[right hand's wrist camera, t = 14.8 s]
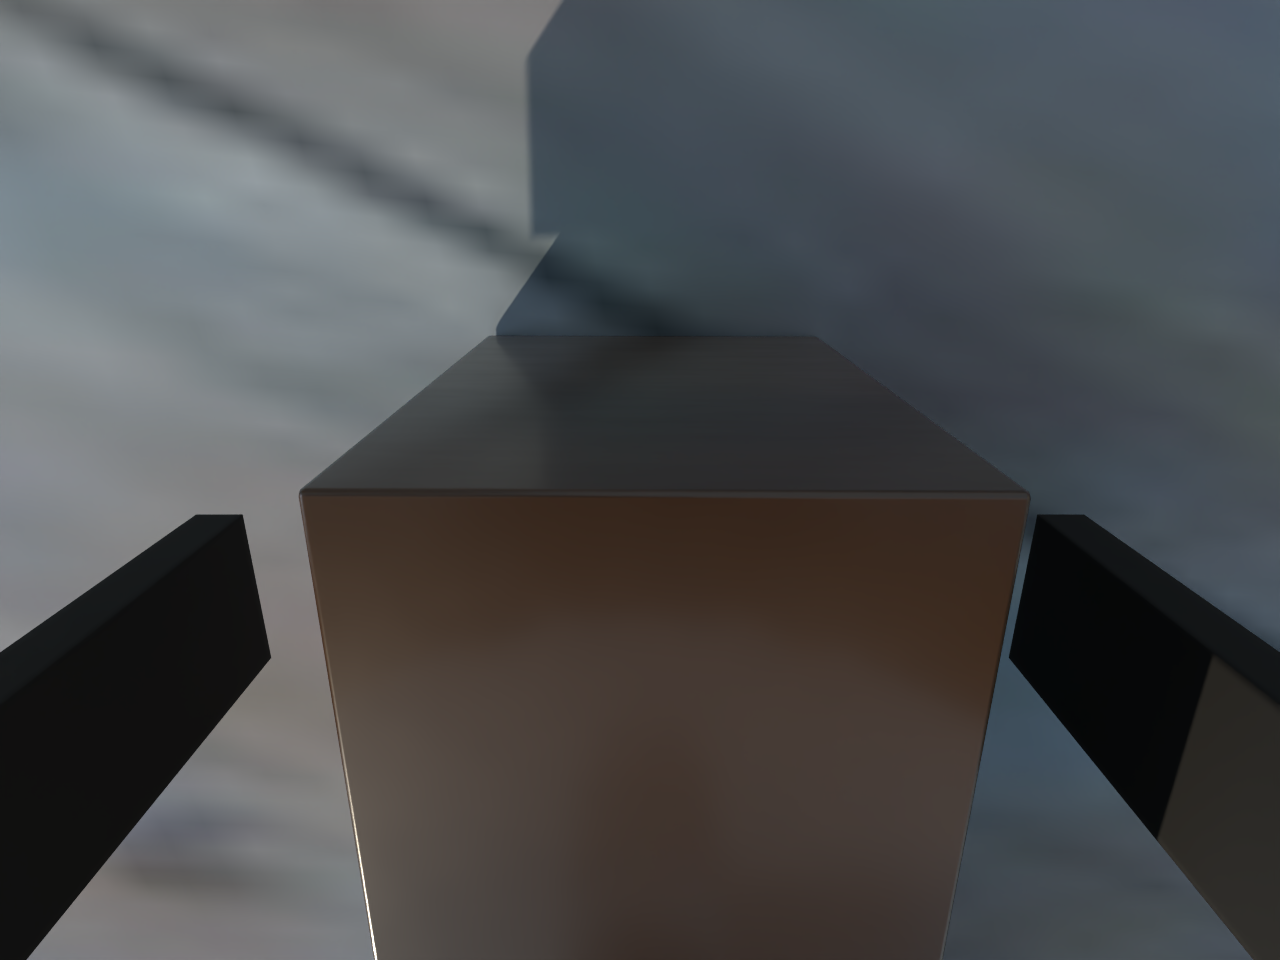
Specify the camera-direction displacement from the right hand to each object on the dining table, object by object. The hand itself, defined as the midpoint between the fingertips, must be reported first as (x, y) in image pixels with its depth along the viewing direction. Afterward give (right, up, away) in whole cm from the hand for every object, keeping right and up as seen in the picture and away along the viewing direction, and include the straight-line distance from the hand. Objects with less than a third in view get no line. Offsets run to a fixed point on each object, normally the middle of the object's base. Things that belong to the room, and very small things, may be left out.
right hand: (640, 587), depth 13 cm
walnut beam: (0, -11, +6) cm, 12 cm away
